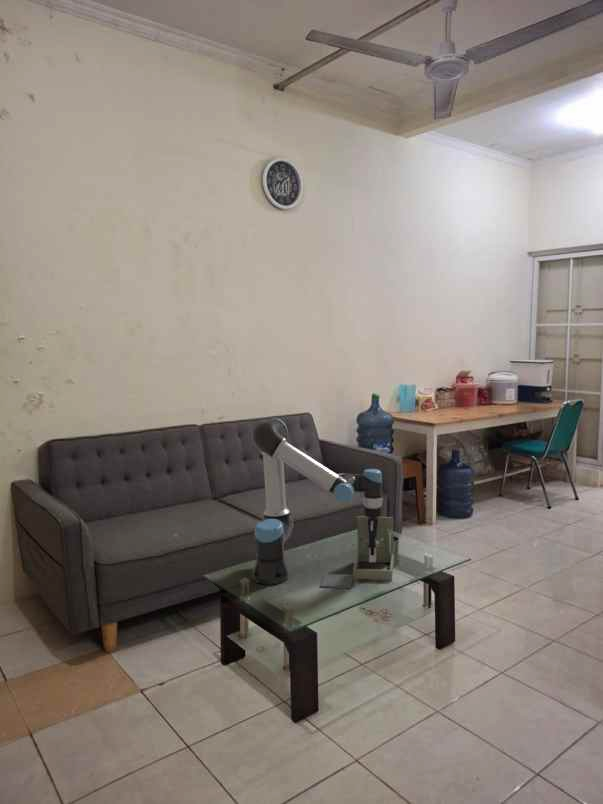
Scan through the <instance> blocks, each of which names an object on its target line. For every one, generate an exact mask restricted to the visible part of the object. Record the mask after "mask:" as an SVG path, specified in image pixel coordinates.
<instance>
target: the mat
mask: <svg viewBox="0 0 603 804" xmlns="http://www.w3.org/2000/svg"><path fill="white" fill-rule="evenodd" d="M353 580H354V579H353V574H342V573H341V574H339V573H338V574H335V573H324V575H323V577H322V580H321V583H320V585H319V587H320V588H329V589H346V588H350V587H352V584H353V582H354V581H353ZM341 587H343V588H341ZM350 589H351V588H350Z"/></svg>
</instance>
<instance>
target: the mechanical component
mask: <svg viewBox="0 0 603 804" xmlns="http://www.w3.org/2000/svg"><path fill="white" fill-rule="evenodd" d="M365 541H368V543H366V542H365ZM360 542H362V546H363V547H366V548H369V547H368V546H369V537H362V538H360ZM383 543H385V539H381V540H380V541H377V540H376V538H375V546H376V548H382V546H383ZM376 544H382V545H376Z"/></svg>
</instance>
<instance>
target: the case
mask: <svg viewBox="0 0 603 804" xmlns="http://www.w3.org/2000/svg"><path fill="white" fill-rule="evenodd" d="M368 519H370V518H369V517H366V516H365V515H362V516H361V515H359V516H358V515H357V516H356V524H357V527H356V531H357V555H356V557H355V558H356V559H355V561H354V565H353V569H352V570H353V571H352V573H353V574H352V575H353V580H373V581H393V576H394V574H393V572H394V565H395V564H394V563H395V555H394V554H395V552H394V551H395V550H394V549H395V545H394V544H395V543H394V540H395V539H394V516H380V517H377V519H378V523H377V532H376V538H377V541H380V540H381V539H385V543H383V546H382V548H376V562H375V563H389V565H390V566H389V569H371V568H370V569H368V568H359V567H360V563H361V562H362V563H363V562H366V563H367V562H368V563H370V562H369V548H366V547H363V546H362V542H360V538H362V537H369V531H368ZM365 542H366V543H368V541H365ZM376 545H382V544H376Z"/></svg>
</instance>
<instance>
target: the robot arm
mask: <svg viewBox="0 0 603 804" xmlns="http://www.w3.org/2000/svg"><path fill="white" fill-rule="evenodd" d="M288 433H289V431H288V426H287V425H286V423H285V422H284V421H283V420H281V419H279V418H275V417H274V418H273V417H272V418H267V419H265V420H264V421H262V422H260V423H258V424H257V425H255V427H254V428H253V431H252V434H251V436H252V437H251V438H252V442H253V444H254V445H255V447H256V448H257V449H258V450H259V452H260V454H261V455H262V458H263V473H264V474H263V475H264V491H265V503H266V505H265V506H266V509H264V511H263V520H260V521H259V522H257V523H256V525H255V527H254V539H255V540H254V541H255V542H254V543H255V564H254V567H253V571H252V579H253V578H254V579H255V581H257V582H258V583H257V584H259V583H261V584H260V585H266V586H267V585H268V586H271V585H272V586H273V585H280V584H282V583H284V582H286V581H288V580H289V578H290V572H289V571H290V570H289V567H288V566H287V562H286V561H285V548H284V547H285V546H284V544H285V542H286V541H287V540H288V538H289V537H290V536H291V535H292V533H293V530H294V521H293V518H292V516H291V510H290V509H289V508H288V507H287V500H286V499H287V498H286V483H285V482H286V481H285V465H284V464H286V465H287V466H289V467H291V468H292V469H294V470H295V471H297V472H298V473H300V474H301V475H303V476H304V477H306V478H307V479H309V480H310V481H312V482H314V483H315V484H317V485H318V486H320V487H321V488H323V489H325V490H326V491H328V492H330V493H331V494H332V495H333V496H334V498H335V500H336V501H338V502H339V503H348V502H349V501H350V500H351V499H352V498H353V497H354V495H355V493H363V506H364V507H363V516H366V517H369V518H370V519H368V531H369V546H368V547H369V562H368V563H377V562H376V546H375V538H376V532H377V523H378V519H377V517H382V515H383V507H382V506H383V503H382V502H383V501H384V498H382V496H383V476H382V474H383V473H382V471H381V470H380V469H377V468H368V469H367V468H366V469H364V471H363V473H346V472H343V473H336V472H334V471H333V470H331V469H329V468H328V467H326V466H324V464H322V463H320V462H319V461H317V460H316V459H314V458H313V457H311V456H309V455H308V454H306V453H305V452H303V451H302V450H300V449H299V448H297V447H295V446H293V445H292V444H290V443H288V441H287V438H288ZM376 540H377V538H376ZM255 581H254V582H255Z"/></svg>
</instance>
